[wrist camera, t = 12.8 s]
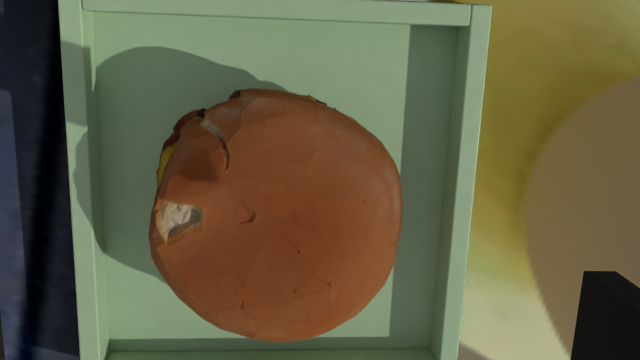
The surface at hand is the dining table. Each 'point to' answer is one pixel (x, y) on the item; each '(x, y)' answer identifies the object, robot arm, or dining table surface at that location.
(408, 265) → the serving tray
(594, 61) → the dining table surface
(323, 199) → the burger
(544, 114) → the dining table surface
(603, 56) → the dining table surface
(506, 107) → the dining table surface
